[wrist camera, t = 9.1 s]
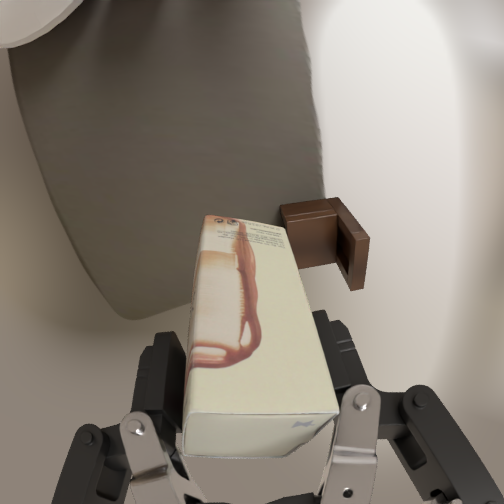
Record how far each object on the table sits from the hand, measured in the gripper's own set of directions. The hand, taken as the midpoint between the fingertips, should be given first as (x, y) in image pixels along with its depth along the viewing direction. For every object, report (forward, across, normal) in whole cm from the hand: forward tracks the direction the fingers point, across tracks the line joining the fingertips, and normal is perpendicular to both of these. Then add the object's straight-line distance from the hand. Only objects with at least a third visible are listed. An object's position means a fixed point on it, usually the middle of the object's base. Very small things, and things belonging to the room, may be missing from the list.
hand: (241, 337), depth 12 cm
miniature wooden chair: (+22, -8, +8) cm, 25 cm away
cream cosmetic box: (+6, 0, 0) cm, 6 cm away
